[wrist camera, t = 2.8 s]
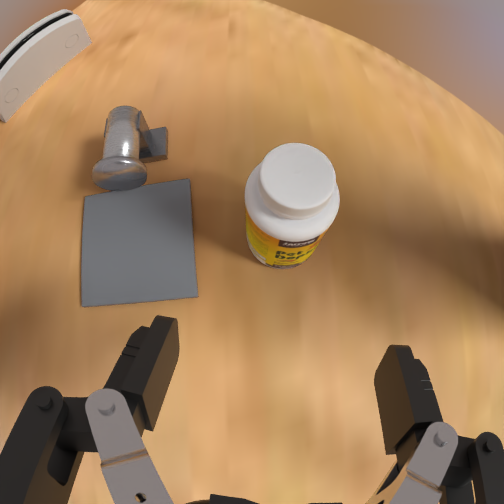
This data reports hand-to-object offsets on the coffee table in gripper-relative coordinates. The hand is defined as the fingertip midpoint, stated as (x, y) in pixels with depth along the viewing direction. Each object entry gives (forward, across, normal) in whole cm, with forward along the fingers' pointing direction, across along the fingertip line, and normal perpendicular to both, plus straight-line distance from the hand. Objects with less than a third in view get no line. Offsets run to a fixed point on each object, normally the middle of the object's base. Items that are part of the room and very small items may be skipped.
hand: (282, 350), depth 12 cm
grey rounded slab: (+29, +34, -10) cm, 45 cm away
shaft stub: (+19, +14, -1) cm, 23 cm away
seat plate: (+13, +12, +4) cm, 18 cm away
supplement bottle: (+15, 0, +3) cm, 15 cm away
